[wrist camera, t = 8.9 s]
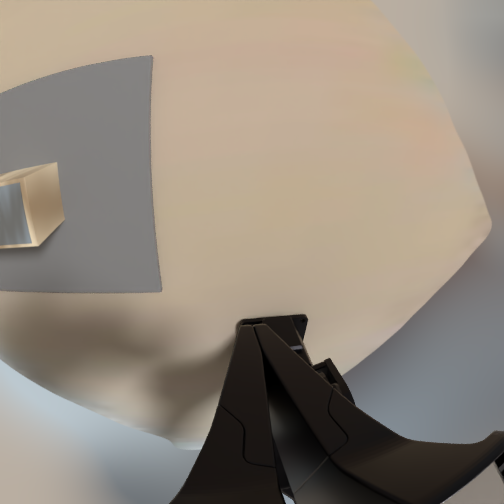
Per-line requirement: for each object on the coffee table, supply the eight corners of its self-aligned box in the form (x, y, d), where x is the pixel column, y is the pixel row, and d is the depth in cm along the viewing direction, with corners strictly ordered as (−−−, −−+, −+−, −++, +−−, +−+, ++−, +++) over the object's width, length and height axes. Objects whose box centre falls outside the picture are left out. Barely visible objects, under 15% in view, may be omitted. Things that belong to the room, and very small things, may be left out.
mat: (162, 288, 23) (161, 292, 22) (-8, 286, 19) (-11, 290, 18) (153, 57, 14) (151, 55, 14) (-41, 115, 11) (-45, 116, 10)
